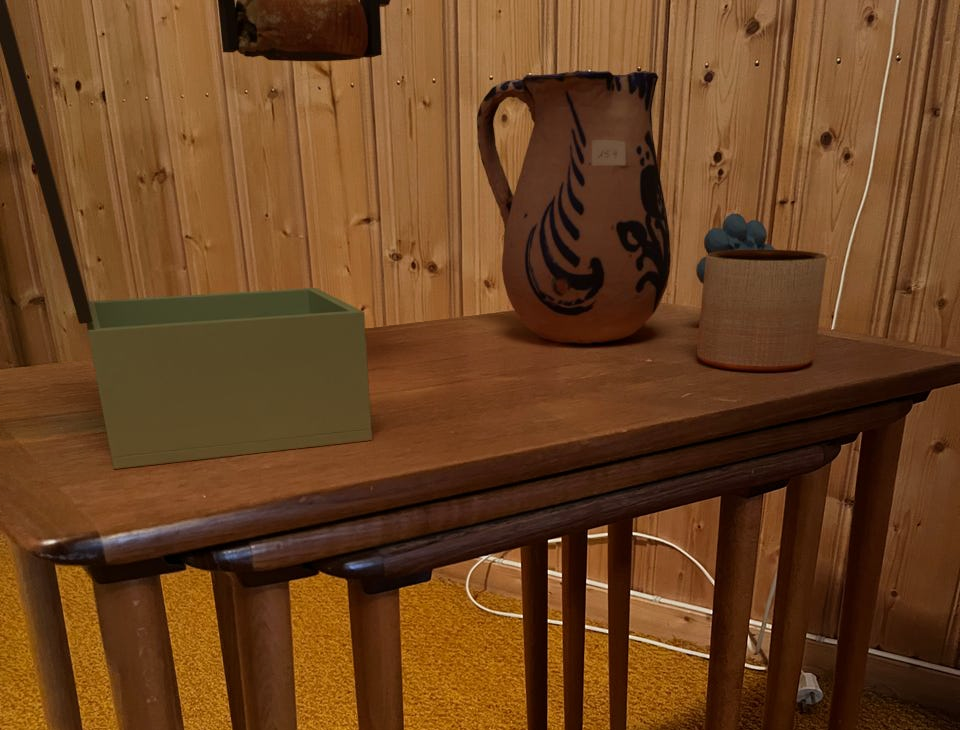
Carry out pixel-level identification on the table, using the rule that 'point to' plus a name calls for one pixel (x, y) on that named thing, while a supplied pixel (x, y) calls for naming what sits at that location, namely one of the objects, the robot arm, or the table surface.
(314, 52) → the bread roll
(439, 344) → the table surface
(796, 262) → the planter
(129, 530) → the table surface
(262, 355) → the olive green storage bin
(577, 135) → the ceramic pitcher
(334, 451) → the table surface
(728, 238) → the grapes
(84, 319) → the storage bin lid
